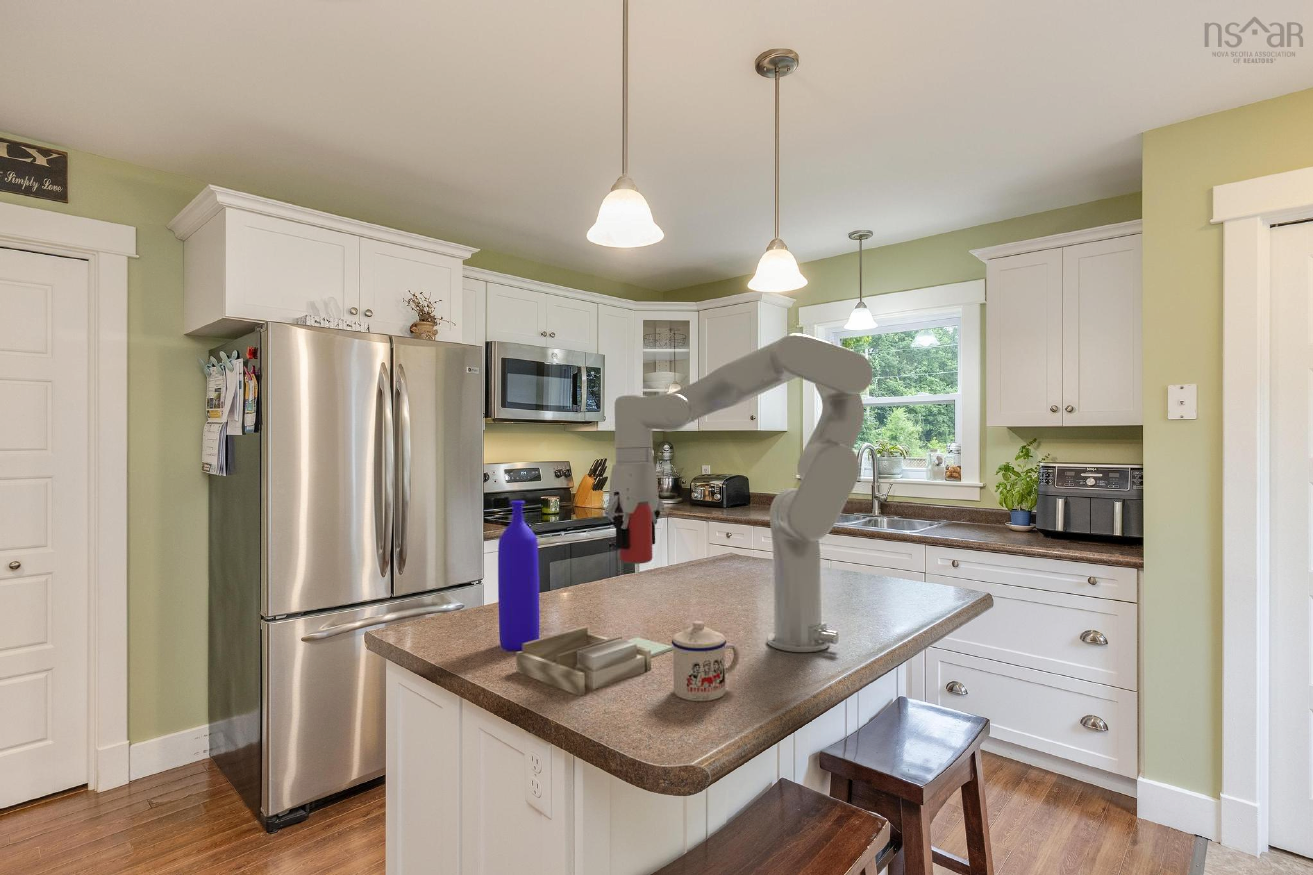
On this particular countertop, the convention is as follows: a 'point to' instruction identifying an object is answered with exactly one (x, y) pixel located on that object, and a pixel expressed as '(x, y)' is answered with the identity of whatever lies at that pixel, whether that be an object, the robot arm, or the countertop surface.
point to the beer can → (639, 536)
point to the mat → (651, 646)
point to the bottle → (518, 583)
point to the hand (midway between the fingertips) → (635, 545)
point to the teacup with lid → (701, 663)
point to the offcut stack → (609, 663)
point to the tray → (563, 658)
